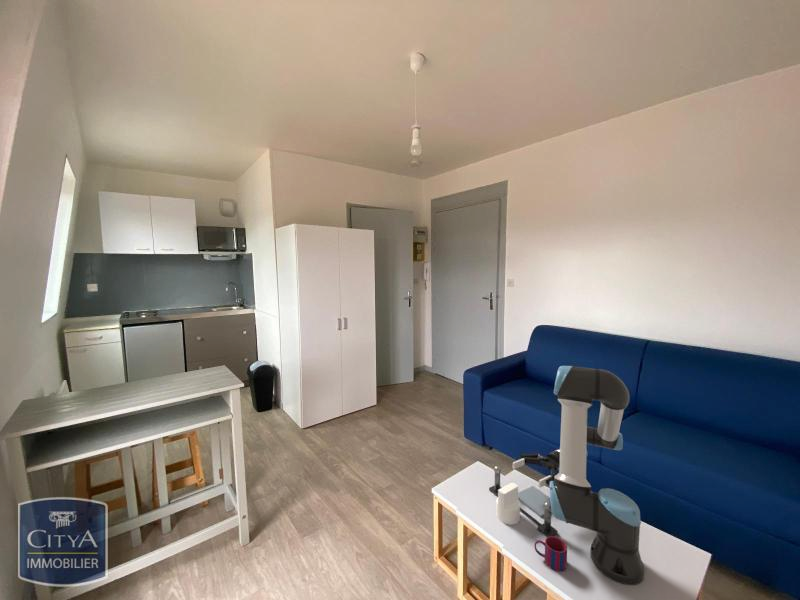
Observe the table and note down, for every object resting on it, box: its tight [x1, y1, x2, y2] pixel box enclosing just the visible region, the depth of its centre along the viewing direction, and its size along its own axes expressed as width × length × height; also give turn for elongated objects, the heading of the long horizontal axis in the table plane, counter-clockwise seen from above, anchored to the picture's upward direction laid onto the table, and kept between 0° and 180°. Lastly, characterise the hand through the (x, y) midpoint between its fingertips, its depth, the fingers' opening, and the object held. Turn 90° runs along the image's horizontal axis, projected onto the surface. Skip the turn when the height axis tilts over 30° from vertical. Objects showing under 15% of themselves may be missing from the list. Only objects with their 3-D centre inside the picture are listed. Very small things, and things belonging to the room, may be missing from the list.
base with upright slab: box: [495, 482, 521, 526], centre depth 132 cm, size 9×9×12 cm
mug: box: [534, 536, 568, 572], centre depth 112 cm, size 7×10×7 cm
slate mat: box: [518, 485, 552, 518], centre depth 140 cm, size 14×12×1 cm
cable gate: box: [488, 465, 558, 538], centre depth 135 cm, size 31×5×12 cm, turn 28°
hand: (525, 474), depth 137 cm, fingers open, 13 cm apart
